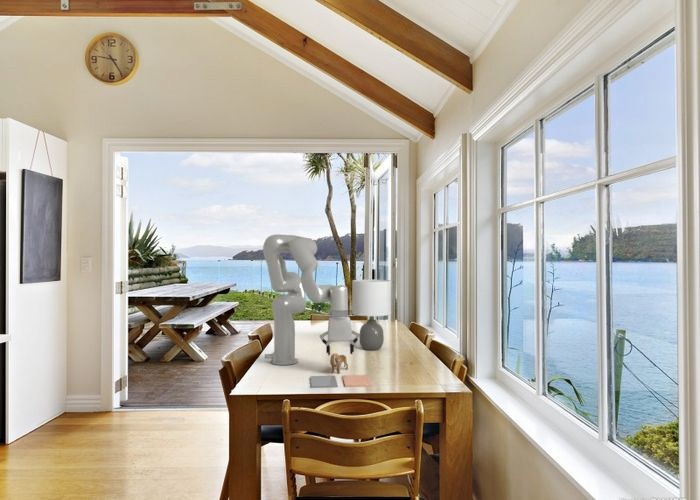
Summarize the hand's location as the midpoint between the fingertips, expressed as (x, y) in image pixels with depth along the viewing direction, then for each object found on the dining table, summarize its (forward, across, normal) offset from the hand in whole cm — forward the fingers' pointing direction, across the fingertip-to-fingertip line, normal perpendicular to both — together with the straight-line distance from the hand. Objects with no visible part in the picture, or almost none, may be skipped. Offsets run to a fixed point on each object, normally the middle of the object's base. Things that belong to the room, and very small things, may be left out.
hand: (340, 354), depth 214 cm
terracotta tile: (+9, +5, -15) cm, 18 cm away
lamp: (+7, +20, +52) cm, 56 cm away
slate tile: (+9, -8, -15) cm, 19 cm away
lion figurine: (+8, 0, +1) cm, 8 cm away
